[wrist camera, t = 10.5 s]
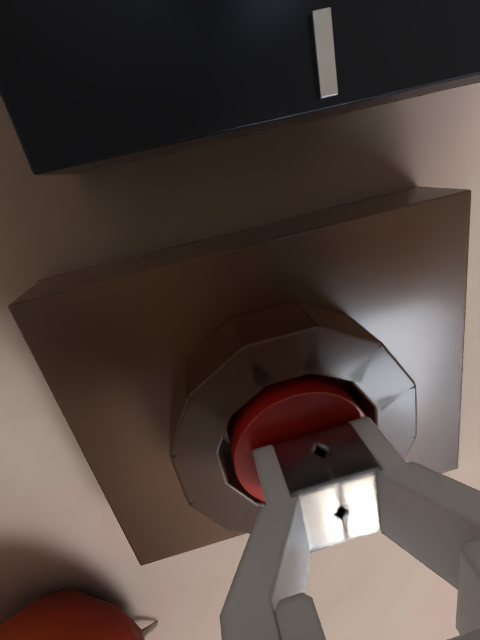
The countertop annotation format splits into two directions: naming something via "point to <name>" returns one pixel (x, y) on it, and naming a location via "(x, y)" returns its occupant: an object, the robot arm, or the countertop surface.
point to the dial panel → (213, 69)
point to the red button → (285, 419)
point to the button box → (253, 351)
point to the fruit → (72, 620)
